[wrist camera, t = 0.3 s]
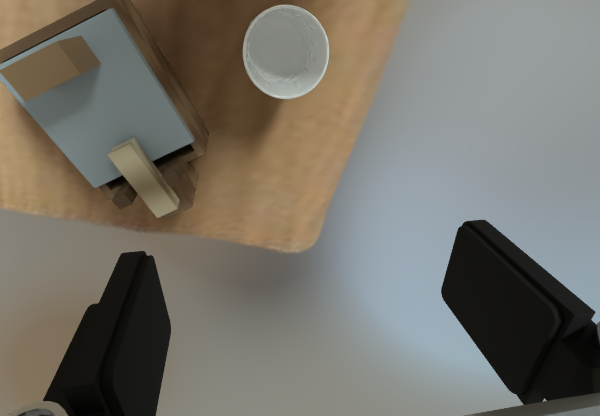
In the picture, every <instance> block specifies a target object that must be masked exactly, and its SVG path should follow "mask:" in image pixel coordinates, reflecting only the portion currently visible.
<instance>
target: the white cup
mask: <svg viewBox="0 0 600 416" xmlns="http://www.w3.org/2000/svg"><path fill="white" fill-rule="evenodd" d="M328 60H329V44H328V39H327V36H326V33H325V31H324V29H323V27H322V25H321V24H320V22H319V21H318V20H317V18H316V17H315V16H314V15H312V14H311V13H310V12H308V11H307V10H305V9H303V8H301V7H298V6H294V5H277V6H274V7H271V8H268V9H266V10H264V11H262V12H260V13H259V14H258V15H257V16H256V17H255V18H254V19H253V20H252V21H251V23H250V24H249V26H248V28H247V30H246V33H245V37H244V43H243V61H244V65H245V69H246V71H247V73H248V75H249V77H250V79H251V80H252V82H253V83H254V84H255V85H256V86H257V87H258V88H259V89H260V90H261V91H262V92H264V93H265V94H267V95H269V96H272V97H275V98H279V99H293V98H297V97H300V96H303V95H305V94H306V93H308V92H310V91H311V90H312V89H313V88H314V87H315V86H316V85H317V84H318V83H319V82H320V80H321V79H322V77H323V75H324V73H325V71H326V68H327V65H328Z"/></svg>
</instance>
